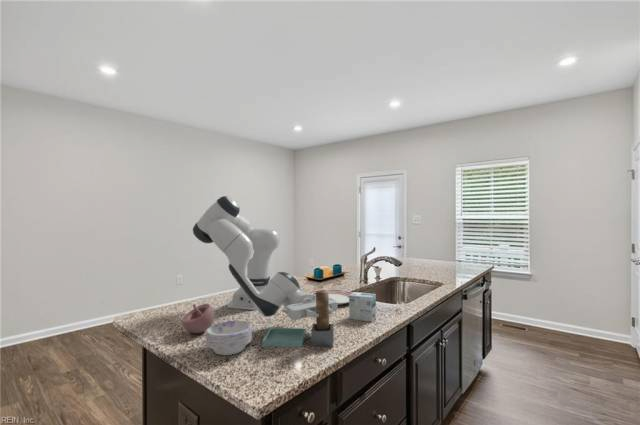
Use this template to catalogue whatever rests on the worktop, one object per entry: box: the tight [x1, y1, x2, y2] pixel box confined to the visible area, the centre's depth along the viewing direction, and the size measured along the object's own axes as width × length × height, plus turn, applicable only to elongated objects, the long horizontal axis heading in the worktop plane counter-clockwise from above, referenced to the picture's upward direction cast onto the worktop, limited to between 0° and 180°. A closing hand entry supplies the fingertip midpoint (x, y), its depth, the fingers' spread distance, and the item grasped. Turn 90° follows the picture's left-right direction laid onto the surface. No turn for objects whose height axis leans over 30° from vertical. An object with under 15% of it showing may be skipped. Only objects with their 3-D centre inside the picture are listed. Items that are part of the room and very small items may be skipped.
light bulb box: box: [348, 291, 377, 323], centre depth 139 cm, size 11×7×11 cm, turn 65°
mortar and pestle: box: [181, 303, 215, 334], centre depth 125 cm, size 12×12×12 cm
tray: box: [261, 327, 307, 348], centre depth 116 cm, size 14×12×2 cm
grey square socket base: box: [310, 322, 335, 348], centre depth 113 cm, size 8×8×6 cm
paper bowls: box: [205, 320, 253, 356], centre depth 109 cm, size 15×15×8 cm
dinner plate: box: [307, 288, 353, 306], centre depth 168 cm, size 27×27×3 cm
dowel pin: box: [315, 290, 330, 330], centre depth 113 cm, size 4×4×18 cm
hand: (324, 313), depth 112 cm, fingers closed on dowel pin, 4 cm apart
